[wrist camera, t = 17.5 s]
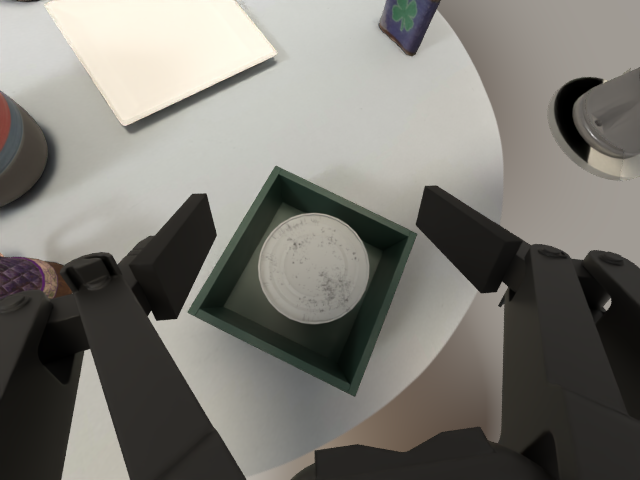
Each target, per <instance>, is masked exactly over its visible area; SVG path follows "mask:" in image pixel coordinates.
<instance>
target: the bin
mask: <svg viewBox="0 0 640 480" xmlns="http://www.w3.org/2000/svg"><path fill="white" fill-rule="evenodd" d="M307 213H320V214H327V215H330V216H333V217H335V218H338V219H339V220H341V221H343V222H344V223H346V224H348V225H349V226H350V227H351V228H352V229H353V230H354V231H355V232H356V233H357V235H358V236H359V238H360V239H361V240H362V242H363V244H364V247H365V249H366V251H367V255H368V260H369V279H368V282H367V286H366V290H365V291H364V293H363V295H362V297H361V299H360V301H359V302H358V303H357V304H356V305H355V306H354V307H353V309H352V310H351V311H349V312H348V313H346V314H345V315H344V316H342V317H341V318H338V319H336V320H333V321H331V322H328V323H321V324H307V323H301V322H298V321H295V320H292V319H289V318H288V317H286V316H285V315H283V314H282V313H280V312H279V311H278V310H277V309H276V308H275V307H274V306H273V305H272V304H271V303H270V302H269V301H268V299H267V297H266V295H265V294H264V292H263V290H262V287H261V284H260V280H259V272H258V263H259V256H260V252H261V250H262V247H263V245H264V242H265V241H266V239H267V238H268V236H269V235H270V233H271V232H272V231H273V230H274V229H275V228H276V227H277V226H278V225H280V224H281V223H282V222H284V221H286V220H288V219H289V218H291V217H294V216H297V215H300V214H307ZM416 236H417V233H415V232H412V231H411V230H408V229H406V228H404V227H402V226H400V225H398V224H396V223H394V222H392V221H390V220H388V219H386V218H384V217H381V216H379V215H377V214H375V213H373V212H371V211H369V210H367V209H365V208H363V207H361V206H359V205H357V204H354V203H352V202H350V201H348V200H346V199H344V198H342V197H340V196H338V195H336V194H334V193H332V192H330V191H327V190H325V189H323V188H321V187H319V186H317V185H315V184H313V183H311V182H309V181H307V180H305V179H303V178H301V177H298V176H296V175H294V174H292V173H290V172H288V171H286V170H284V169H282V168H280V167H278V166H275V167H274V169H273V171H272V172H271V174H270V176H269V177H268V179H267V181H266V182H265V184H264V186H263V187H262V189H261V191H260V192H259V194H258V196H257V197H256V199H255V201H254V202H253V204H252V206H251V207H250V209H249V211H248V212H247V214H246V216H245V217H244V219H243V221H242V222H241V224H240V226H239V227H238V229H237V231H236V232H235V234H234V236H233V237H232V239H231V241H230V242H229V244H228V246H227V247H226V249H225V251H224V252H223V254H222V256H221V257H220V259H219V261H218V262H217V264H216V266H215V267H214V269H213V271H212V272H211V274H210V276H209V277H208V279H207V281H206V282H205V284H204V286H203V287H202V289H201V291H200V292H199V294H198V296H197V297H196V299H195V301H194V302H193V304H192V306H191V307H190V309H189V311H188V313H189V314H191V315H193V316H195V317H197V318H199V319H201V320H203V321H205V322H207V323H209V324H211V325H213V326H215V327H217V328H219V329H221V330H223V331H225V332H227V333H229V334H231V335H233V336H235V337H237V338H239V339H241V340H243V341H245V342H247V343H249V344H251V345H253V346H255V347H257V348H259V349H261V350H263V351H265V352H267V353H269V354H271V355H273V356H275V357H277V358H279V359H281V360H283V361H285V362H287V363H289V364H291V365H293V366H295V367H297V368H299V369H301V370H303V371H305V372H307V373H309V374H311V375H313V376H315V377H317V378H319V379H321V380H323V381H325V382H327V383H329V384H331V385H332V386H334V387H336V388H338V389H340V390H342V391H344V392H346V393H348V394H350V395H352V396H354V397H355V396H356V393H357V391H358V388H359V385H360V383H361V380H362V377H363V375H364V372H365V370H366V367H367V364H368V362H369V359H370V357H371V354H372V351H373V349H374V346H375V343H376V341H377V338H378V336H379V333H380V330H381V328H382V325H383V322H384V320H385V317H386V315H387V312H388V309H389V307H390V304H391V301H392V299H393V296H394V294H395V291H396V288H397V286H398V283H399V281H400V278H401V275H402V273H403V270H404V267H405V265H406V262H407V260H408V257H409V254H410V252H411V249H412V246H413V244H414V241H415V239H416Z"/></svg>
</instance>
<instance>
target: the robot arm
mask: <svg viewBox="0 0 640 480" xmlns="http://www.w3.org/2000/svg"><path fill="white" fill-rule="evenodd" d="M573 120H574V124H575V126H576V128H577V130H578V132H579V134H580V135H581V136H582V138H583V139H584V140H585V141H586V142H587V143H588V144H589V145H590V146H591V147H592V148H594V149H595V150H597V151H598V152H600V153H602V154H604V155H606V156H609V157H613V158H618V159H626V158H631V157H633V156H636V155H638V154H640V67H639V68H637V69H635V70H633V71H630V69H629V70H627V71H626V72H624V73H623V75H621V76H619V77H617V78H614V79H612V80H610V81H608V82H605V83H603V84H600V85H598V86H596V87H594V88H592V89H590V90H589V91H587V92H586V93H585V94H583V95H582V96H580V97H579V98H578V99H577V100H576V102H575V104H574V107H573ZM416 226H417V227H418V228H419V229H420V230H421V231H422V232H423V233H424V234H425V235H426V236H427V237H428V238H429V239H430V240H431V242H432V243H433V244H434V245H435V246H436V247H437V248H438V249H439V250H440V251H441V252H442V253H443V254H444V255H445V256H446V257H447V258H448V259H449V260H450V261H451V262H452V263H453V265H454V266H455V267H456V268H457V269H458V270H459V271H460V272H461V273H462V274H463V275H464V276H465V277H466V278H467V279H468V280H469V281H470V282H471V283H472V284H473V285H474V286H475V288H476V289H477V290H478V291H479V292H480V293H491V292H497V290H498V288H499V286H500V284H501V282H502V281H503V282H504V283H505V284H506V285H507V286H508V289H507V291H506V293H505V294H504V296H503V298H502V300H501V302H500V303H499V305H498V306H499V307H501V306H502V305H503V304H505V305H504V345H503V346H504V347H503V386H502V387H503V388H502V427H501V436H500V440H499V442H498V443H494V442H491V441H488V440H487V438H486V436H485V435H484V433H483V431H482V429H481V428H480V427H474V428H467V429H460V430H454V431H447V432H441V433H440V434H438V435H436V436H434V437H432V438H431V439H429V440H427V441H425V442H424V443H422V444H420V445H418V446H417V447H415V448H413V449H411V450H410V451H407V452H397V451H392V450H386V449H380V448H374V447H369V446H364V445H358V444H357V445H350V446H343V447H336V448H329V449H323V450H315V463H314V464H312V465H310V466H308V467H306V468H304V469H303V470H302V471H300V472H299V473H298V474H296V475H295V476H294V477H293V478H292V479H291V480H640V268H638V267H637V266H636V265H635V264H634V263H632V262H630V261H629V260H628V259H626V258H623V257H621V256H620V255H618V254H614V253H612V252H605V251H597V250H593V251H590V252H589V253H588V255H587V256H586V257H585V259H584V260H577V259H571V258H570V256H569V255H568V254H566V253H565V252H563V251H561V250H559V249H557V248H554V247H552V246H547V245H542V244H534V245H530V244H528V243H526V242H525V241H523V240H522V239H520V238H519V237H517V236H515V235H514V234H512V233H510V232H509V231H508V230H506V229H504V228H503V227H501V226H500V225H498V224H497V223H495V222H493V221H491V220H490V219H488V218H487V217H485V216H483V215H482V214H480V213H479V212H477V211H476V210H474V209H472V208H471V207H469V206H468V205H466V204H465V203H463V202H461V201H460V200H458V199H457V198H455V197H454V196H452V195H451V194H449V193H447V192H446V191H444V190H443V189H441V188H440V187H438V186H425V188H424V192H423V196H422V201H421V205H420V209H419V213H418V217H417V222H416ZM216 236H217V234H216V230H215V226H214V222H213V218H212V214H211V210H210V206H209V202H208V198H207V194H192V195H191V196H190V197H189V198H188V199H187V200H186V202H185V203H184V204H183V205H182V206H181V207H180V208H179V209H178V210H177V212H176V213H175V214H174V215H173V216H172V217H171V218H170V219H169V221H168V222H167V223H166V224H165V225H164V226H163V227H162V228H161V229H160V231H159V232H158V233H157V234H156V235H155V236H149V237H147V238H145V239H144V240H142V241H140V242H139V243H138V244H137V245H136V246H135V247H134V248H133V250H131V251H130V252H129V253H128V254H127V256H125V257H124V258H123V259H122V261H121V262H120V263H119V264H118V265H117V263H116V262H115V260H114V258H113V256H112V255H111V254H109V253H104V252H100V253H92V254H89V255H85V256H82V257H79V258H77V259H74V260H72V261H71V262H69V263H67V264H66V265H65V266H64V267H63V268H61V270H60V273H59V274H60V275H61V276H62V278H63V279H64V281H65V282H66V283H67V285H68V286H69V288H70V289H71V291H72V292H73V294H69V295H65V296H61V297H57V298H53V299H49V298H48V297H47V295H46V294H45V293H44V292H43V291H41V290H27V291H22V292H19V293H16V294H11V295H8V296H6V297H5V298H2V299H0V480H61V478H62V472H63V467H64V461H65V456H66V450H67V444H68V439H69V433H70V428H71V422H72V417H73V411H74V405H75V400H76V394H77V389H78V383H79V378H80V372H81V366H82V361H83V355H84V350H88V349H91V352H92V356H93V359H94V362H95V366H96V369H97V372H98V375H99V379H100V382H101V385H102V389H103V392H104V395H105V398H106V402H107V405H108V408H109V412H110V415H111V418H112V421H113V425H114V428H115V431H116V435H117V438H118V441H119V444H120V448H121V451H122V454H123V458H124V461H125V464H126V467H127V471H128V474H129V477H130V480H246V478H245V476H244V475H243V473H242V471H241V470H240V468H239V466H238V465H237V463H236V461H235V460H234V458H233V456H232V455H231V453H230V451H229V450H228V448H227V446H226V445H225V443H224V441H223V440H222V438H221V437H220V435H219V433H218V432H217V430H216V429H215V428H214V427H213V425H212V424H211V422H210V421H209V419H208V417H207V416H206V414H205V412H204V411H203V409H202V407H201V406H200V404H199V402H198V400H197V399H196V397H195V395H194V394H193V392H192V390H191V389H190V387H189V385H188V384H187V382H186V380H185V379H184V377H183V375H182V374H181V372H180V370H179V369H178V367H177V365H176V364H175V362H174V360H173V359H172V357H171V355H170V354H169V352H168V350H167V348H166V347H165V345H164V343H163V342H162V340H161V338H160V337H159V335H158V333H157V332H156V330H155V328H154V327H153V325H152V323H151V322H150V320H149V318H148V317H147V316H148V315H149V313H150V311H152V313H153V315H154V317H155V319H156V321H158V320H170V319H177V318H178V316H179V313H180V311H181V309H182V307H183V305H184V303H185V301H186V299H187V297H188V295H189V292H190V290H191V288H192V286H193V284H194V282H195V280H196V278H197V276H198V274H199V271H200V269H201V267H202V265H203V263H204V261H205V259H206V257H207V255H208V253H209V250H210V248H211V246H212V244H213V242H214V240H215V238H216ZM610 298H611V301H612V302H611V306H610V308H609V309H608V310H607V311H606V310H605V309H604V308H603V306H604V305H605V304H606V302H607V301H608V300H609V299H610Z"/></svg>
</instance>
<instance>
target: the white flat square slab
mask: <svg viewBox="0 0 640 480" xmlns="http://www.w3.org/2000/svg"><path fill="white" fill-rule="evenodd" d="M44 6H45V8H46V9H47V11H48V12H49V14H50V15H51V17H52V19H53V20H54V22H55V23H56V25H57V26H58V28H59V29H60V31H61V32H62V34H63V35H64V37H65V39H66V40H67V42H68V43H69V45H70V46H71V48H72V49H73V51H74V52H75V54H76V55H77V57H78V59H79V60H80V62H81V63H82V65H83V66H84V68H85V69H86V71H87V72H88V74H89V75H90V77H91V79H92V80H93V82H94V83H95V85H96V86H97V88H98V89H99V91H100V92H101V94H102V95H103V97H104V99H105V100H106V102H107V103H108V105H109V106H110V108H111V109H112V111H113V112H114V114H115V115H116V117H117V119H118V120H119V122H120V123H121V125H125V126H126V125H130V124H132V123H134V122H136V121H138V120H140V119H142V118H144V117H147V116H149V115H151V114H153V113H155V112H157V111H159V110H161V109H164V108H166V107H168V106H170V105H172V104H174V103H176V102H178V101H181V100H183V99H185V98H187V97H189V96H191V95H193V94H195V93H198V92H200V91H202V90H204V89H206V88H208V87H210V86H212V85H215V84H217V83H219V82H221V81H223V80H225V79H227V78H229V77H232V76H234V75H236V74H238V73H240V72H242V71H244V70H246V69H249V68H251V67H253V66H255V65H257V64H259V63H261V62H263V61H265V60H268V59H270V58H272V57H274V56H275V55H277V51H276V50H275V48H274V47H273V46H272V45H271V44H270V42H269V41H268V40H267V39H266V37H265V36H264V35H263V34H262V33H261V31H260V30H259V29H258V28H257V26H256V25H255V24H254V23H253V22H252V20H251V19H250V18H249V17H248V16H247V14H246V13H245V12H244V11H243V9H242V8H241V7H240V6H239V5H238V3H237V2H236V1H235V0H54V1H51V2H48V3H46V4H45V5H44Z"/></svg>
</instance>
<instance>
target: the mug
mask: <svg viewBox="0 0 640 480" xmlns="http://www.w3.org/2000/svg"><path fill="white" fill-rule="evenodd" d="M63 267H64V266H63V265H60V264H58V263H55V262H46V261H42V260H39V259H33V258H25V257H11V258H10V257H4V256H3V255H2V254H1V253H0V299H2V298H5V297H6V296H8V295H11V294H16V293H19V292H22V291H27V290H41V291H43V292H44V293H45V294H46V295H47V297H48V298H49V299H53V298H57V297H61V296H65V295H69V294H72V291H71V289H70V288H69V286H68V285H67V283H66V282H65V281H64V279H63V278H62V276H61V275H60V274H59V273H60V270H61V268H63Z"/></svg>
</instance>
